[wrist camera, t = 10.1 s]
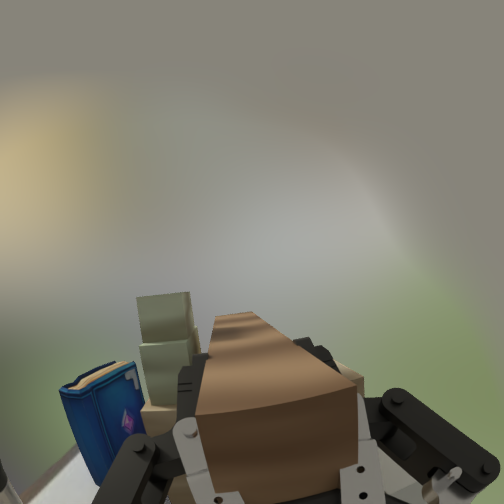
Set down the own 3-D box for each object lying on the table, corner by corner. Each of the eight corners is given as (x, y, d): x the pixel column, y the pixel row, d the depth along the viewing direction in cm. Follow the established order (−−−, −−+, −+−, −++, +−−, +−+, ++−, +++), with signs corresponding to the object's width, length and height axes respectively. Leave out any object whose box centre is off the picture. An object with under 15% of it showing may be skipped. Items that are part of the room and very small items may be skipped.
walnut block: (356, 493, 6) (357, 385, 6) (224, 522, 6) (194, 414, 6) (256, 346, 32) (251, 311, 32) (220, 351, 31) (215, 316, 32)
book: (119, 498, 35) (78, 387, 38) (92, 489, 36) (52, 382, 39) (160, 451, 57) (137, 359, 59) (136, 448, 57) (113, 359, 60)
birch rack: (348, 588, 13) (352, 268, 17) (230, 610, 11) (118, 298, 16) (318, 529, 27) (296, 277, 31) (225, 545, 25) (164, 294, 29)
